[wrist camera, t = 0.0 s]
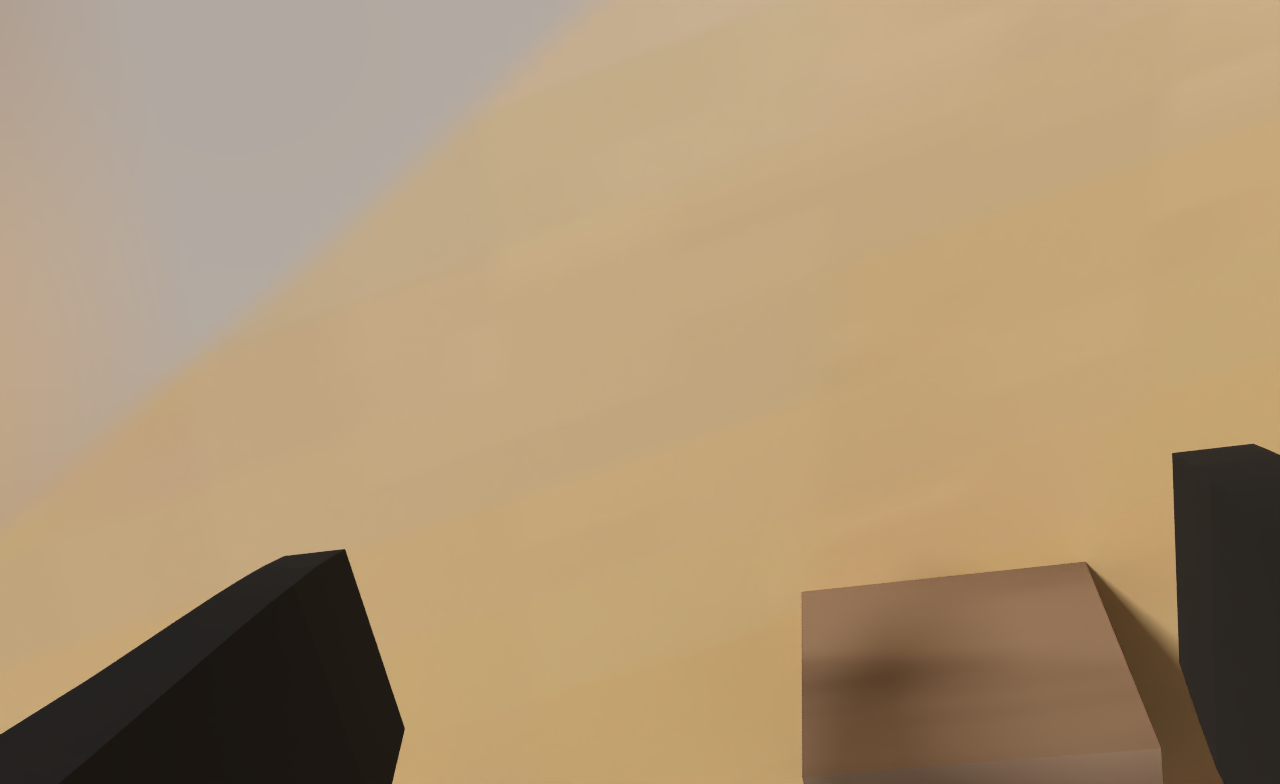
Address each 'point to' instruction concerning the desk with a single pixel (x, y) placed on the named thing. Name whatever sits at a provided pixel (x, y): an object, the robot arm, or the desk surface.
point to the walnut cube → (971, 684)
